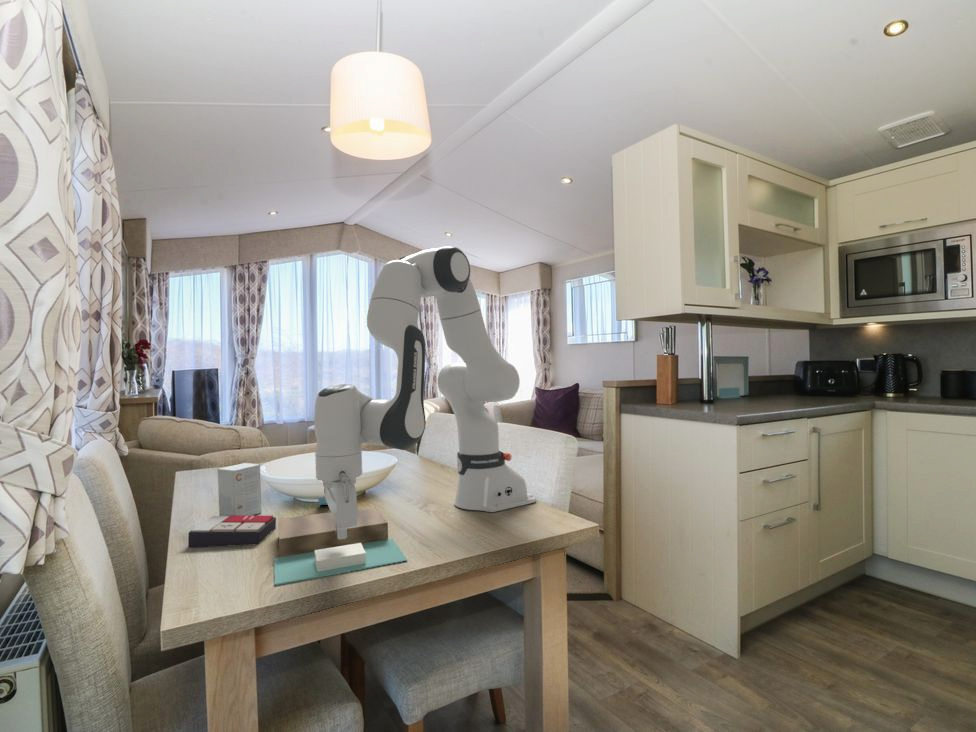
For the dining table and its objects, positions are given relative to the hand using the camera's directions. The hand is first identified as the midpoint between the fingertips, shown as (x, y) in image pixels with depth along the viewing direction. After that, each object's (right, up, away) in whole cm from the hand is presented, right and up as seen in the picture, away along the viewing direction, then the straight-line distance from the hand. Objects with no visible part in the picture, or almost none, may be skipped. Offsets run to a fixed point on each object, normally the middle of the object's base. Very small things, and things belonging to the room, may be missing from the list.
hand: (341, 536), depth 98 cm
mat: (0, -5, 0) cm, 5 cm away
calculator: (-29, -6, +15) cm, 33 cm away
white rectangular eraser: (0, -4, -1) cm, 4 cm away
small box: (-36, -6, +31) cm, 48 cm away
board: (-6, -5, +13) cm, 15 cm away
